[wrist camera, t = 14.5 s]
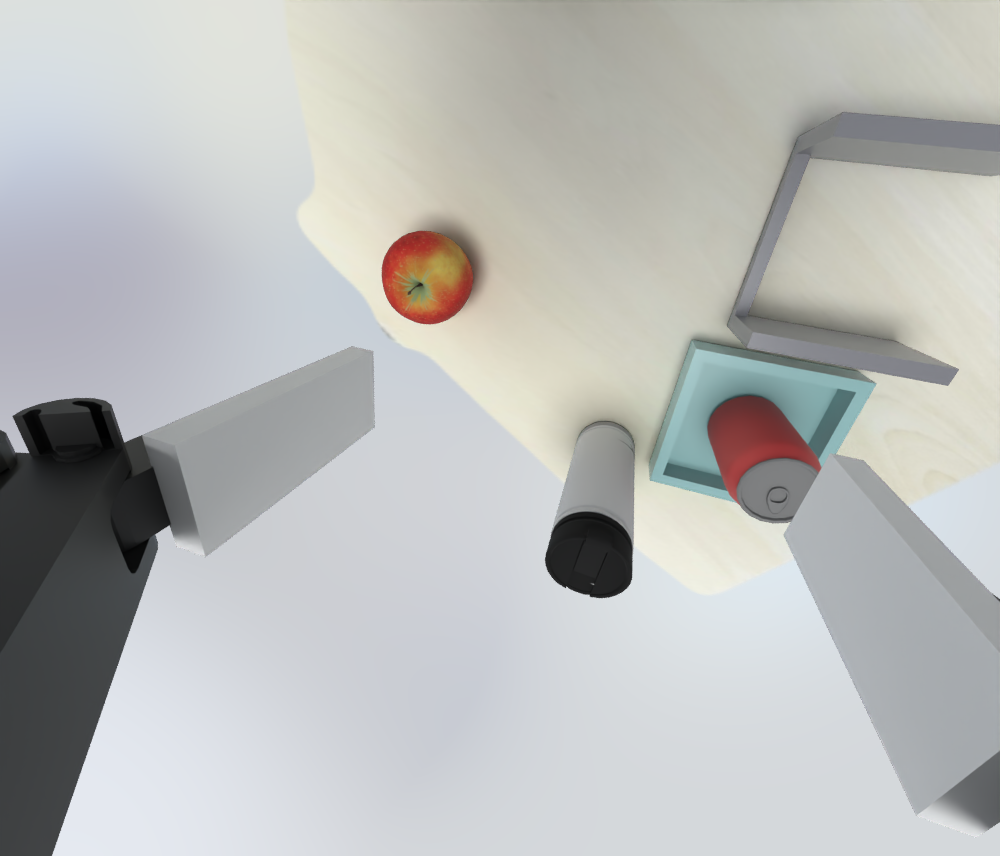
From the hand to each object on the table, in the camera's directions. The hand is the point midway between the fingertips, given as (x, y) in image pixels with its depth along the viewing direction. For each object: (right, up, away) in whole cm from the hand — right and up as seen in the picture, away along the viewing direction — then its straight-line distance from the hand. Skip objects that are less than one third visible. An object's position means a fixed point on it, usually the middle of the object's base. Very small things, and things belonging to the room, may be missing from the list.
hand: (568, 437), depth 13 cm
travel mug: (+10, -2, +34) cm, 36 cm away
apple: (-7, +16, +31) cm, 36 cm away
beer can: (+22, +1, +29) cm, 36 cm away
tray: (+22, +1, +29) cm, 36 cm away
